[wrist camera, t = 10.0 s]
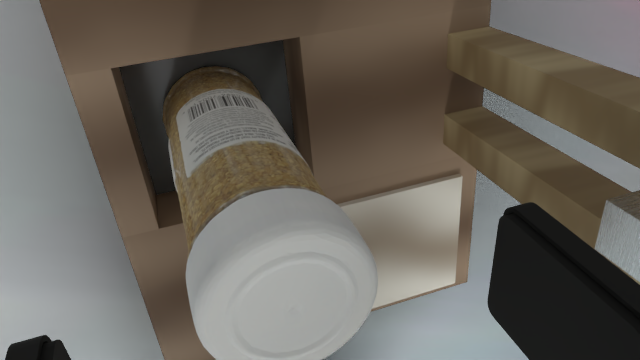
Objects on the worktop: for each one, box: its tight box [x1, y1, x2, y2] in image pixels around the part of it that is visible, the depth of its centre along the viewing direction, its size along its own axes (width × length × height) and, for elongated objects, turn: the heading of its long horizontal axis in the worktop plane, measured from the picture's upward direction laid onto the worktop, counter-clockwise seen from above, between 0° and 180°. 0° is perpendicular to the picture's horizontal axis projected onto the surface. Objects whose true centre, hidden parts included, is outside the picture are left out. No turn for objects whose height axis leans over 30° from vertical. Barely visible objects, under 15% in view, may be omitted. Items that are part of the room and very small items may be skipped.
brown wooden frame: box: [39, 0, 640, 360], centre depth 18 cm, size 20×17×16 cm
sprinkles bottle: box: [163, 66, 378, 360], centre depth 17 cm, size 5×5×13 cm
